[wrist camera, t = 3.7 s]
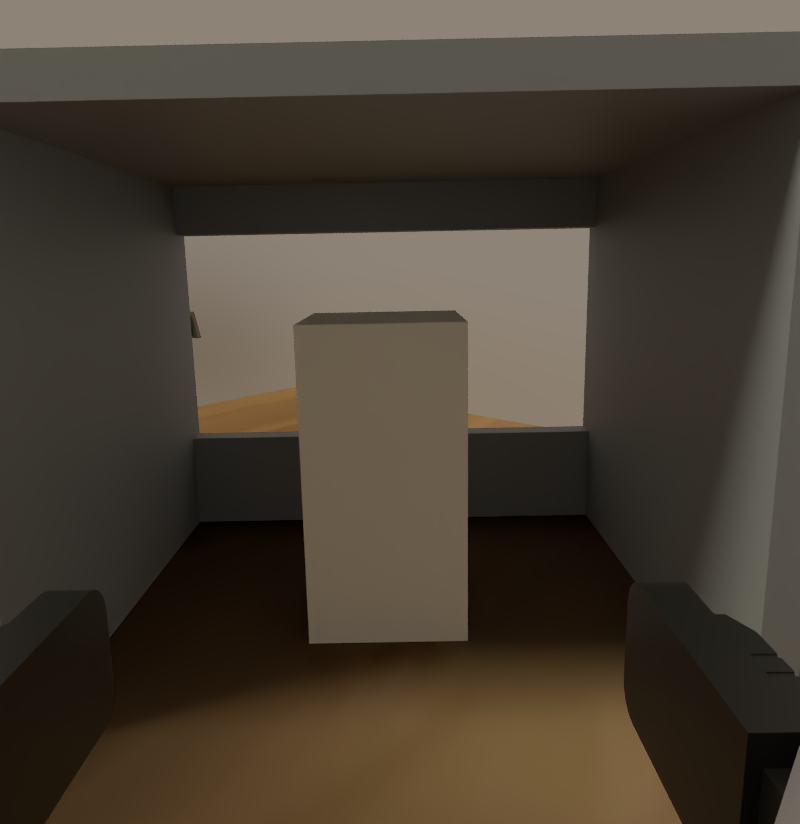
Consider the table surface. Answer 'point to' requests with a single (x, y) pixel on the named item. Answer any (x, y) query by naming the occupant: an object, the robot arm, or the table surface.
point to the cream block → (384, 474)
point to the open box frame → (408, 212)
